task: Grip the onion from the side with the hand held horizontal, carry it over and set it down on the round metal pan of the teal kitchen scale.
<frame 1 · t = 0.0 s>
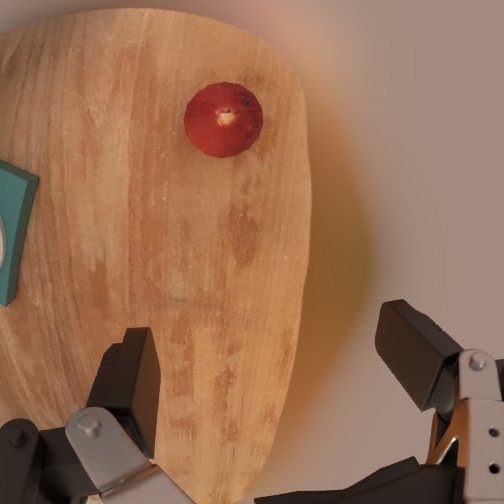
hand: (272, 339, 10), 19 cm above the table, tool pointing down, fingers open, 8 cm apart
onion: (221, 122, 26), on the table
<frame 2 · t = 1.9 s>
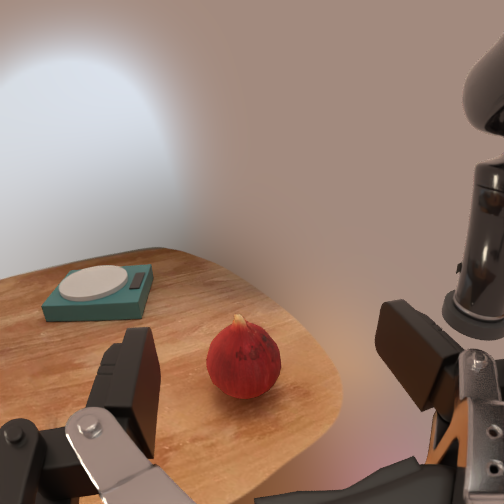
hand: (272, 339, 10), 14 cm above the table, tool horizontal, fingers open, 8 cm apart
onion: (245, 395, 26), on the table
scale: (102, 298, 42), on the table
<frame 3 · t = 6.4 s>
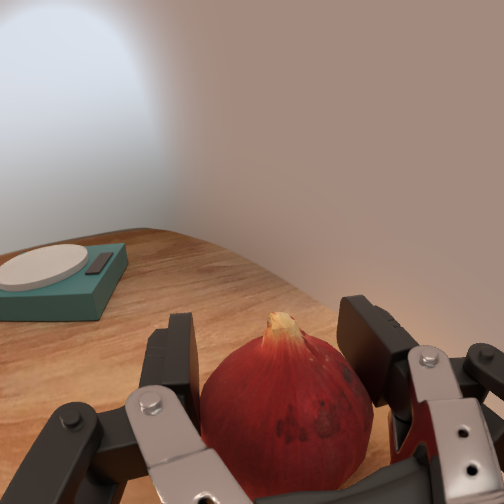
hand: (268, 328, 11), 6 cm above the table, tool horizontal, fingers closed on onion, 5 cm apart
onion: (279, 477, 11), on the table, touching gripper
scale: (53, 290, 27), on the table
when the fingers open (9 cm above the table, at t = 15.2 s): onion stays where it is, resting on scale.
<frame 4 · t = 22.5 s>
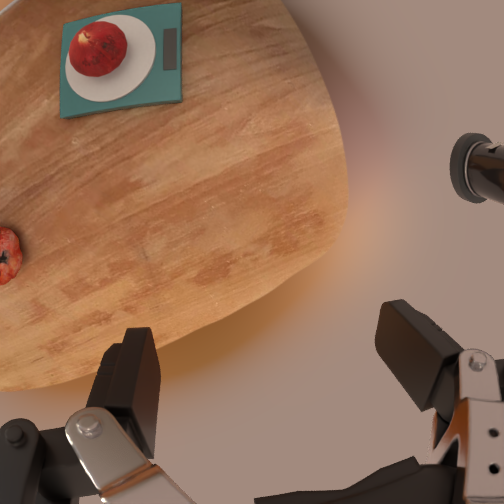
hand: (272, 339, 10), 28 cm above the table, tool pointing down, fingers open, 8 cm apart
onion: (108, 57, 26), point 3 cm above the table, touching scale
scale: (121, 61, 29), on the table
pomegranate: (9, 247, 34), on the table
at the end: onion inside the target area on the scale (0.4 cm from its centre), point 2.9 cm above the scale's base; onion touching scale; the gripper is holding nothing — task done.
